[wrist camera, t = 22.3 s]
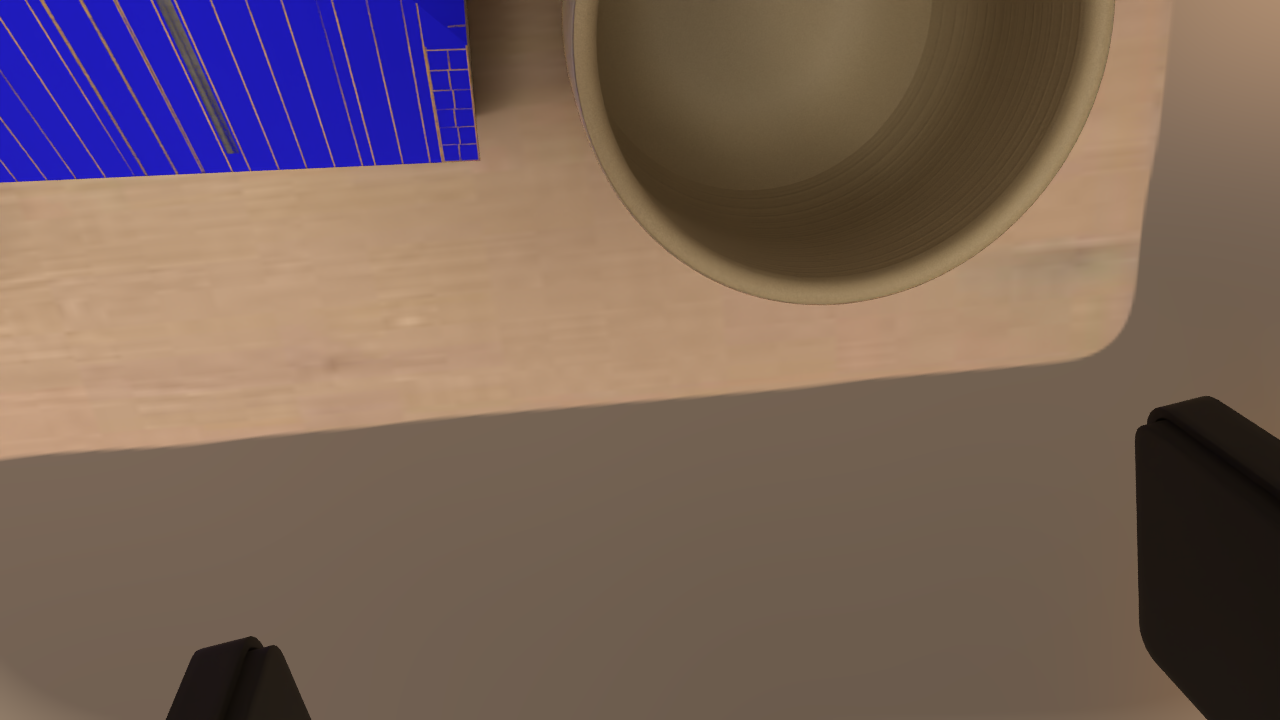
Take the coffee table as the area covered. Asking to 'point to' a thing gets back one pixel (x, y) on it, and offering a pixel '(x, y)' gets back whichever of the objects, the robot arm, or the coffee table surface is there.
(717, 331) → the coffee table surface
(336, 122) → the house
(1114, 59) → the coffee table surface
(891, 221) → the planter
